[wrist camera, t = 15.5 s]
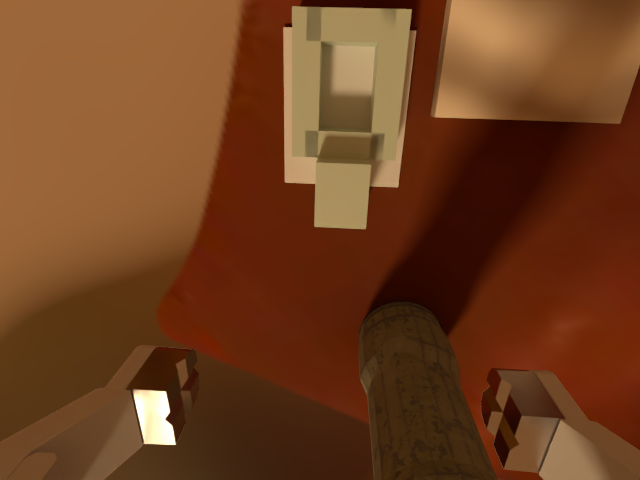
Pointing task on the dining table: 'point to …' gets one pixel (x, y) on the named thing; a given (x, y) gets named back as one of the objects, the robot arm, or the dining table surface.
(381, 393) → the stone moai statue
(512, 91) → the post stand
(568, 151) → the dining table surface
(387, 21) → the link
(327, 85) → the mat
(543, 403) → the robot arm
